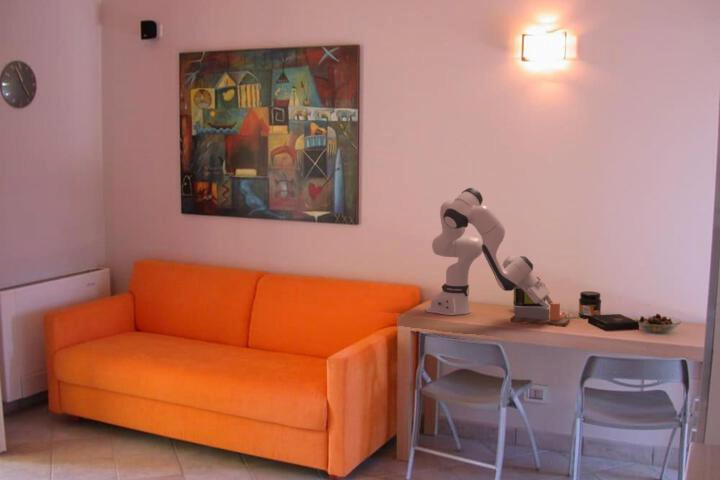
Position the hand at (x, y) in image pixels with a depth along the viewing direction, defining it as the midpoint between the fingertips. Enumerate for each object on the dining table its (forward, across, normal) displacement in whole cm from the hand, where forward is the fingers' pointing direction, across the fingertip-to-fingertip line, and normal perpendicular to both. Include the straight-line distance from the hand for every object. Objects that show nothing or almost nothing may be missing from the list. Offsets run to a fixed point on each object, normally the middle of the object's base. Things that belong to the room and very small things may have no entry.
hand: (549, 305), depth 369 cm
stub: (+6, +1, +3) cm, 7 cm away
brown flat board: (+2, +1, +9) cm, 10 cm away
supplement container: (+17, +22, -5) cm, 28 cm away
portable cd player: (+26, +7, -14) cm, 30 cm away
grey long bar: (-1, +1, +11) cm, 11 cm away
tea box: (-5, +22, +16) cm, 28 cm away
